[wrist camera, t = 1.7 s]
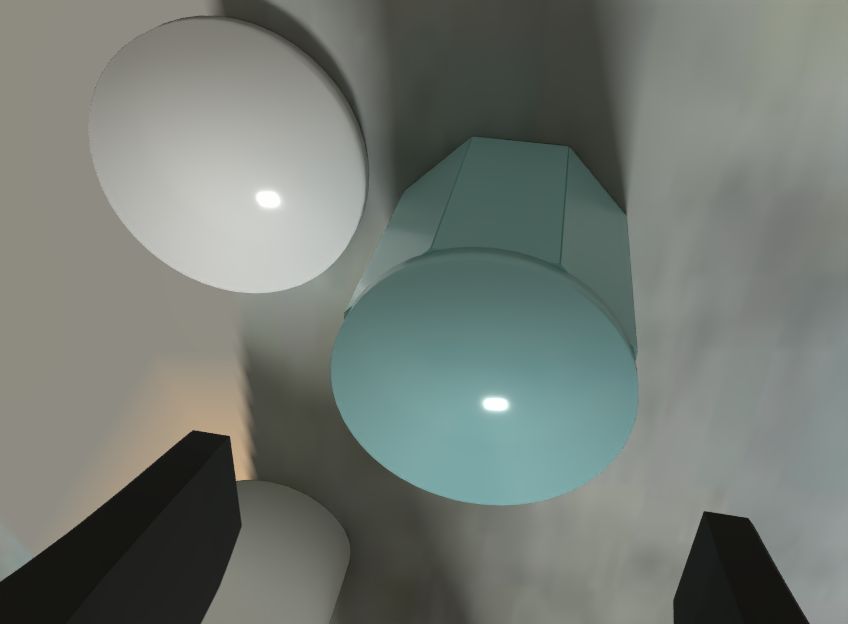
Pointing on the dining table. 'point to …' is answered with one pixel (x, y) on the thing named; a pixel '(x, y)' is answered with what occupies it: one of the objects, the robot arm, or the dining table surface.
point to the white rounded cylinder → (281, 560)
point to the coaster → (229, 154)
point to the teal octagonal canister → (494, 329)
